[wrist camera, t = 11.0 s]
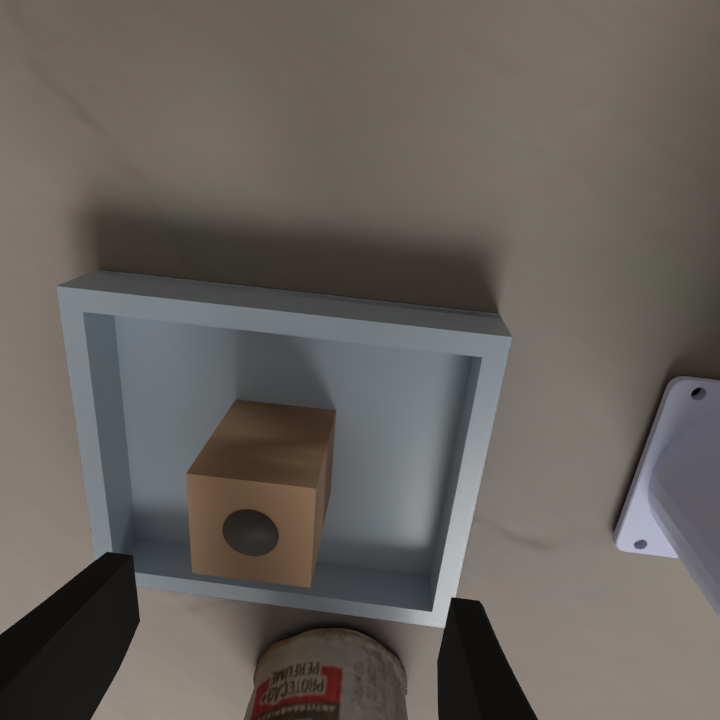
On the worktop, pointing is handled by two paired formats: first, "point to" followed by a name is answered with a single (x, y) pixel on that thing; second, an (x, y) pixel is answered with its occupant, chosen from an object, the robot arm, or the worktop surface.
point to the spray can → (328, 679)
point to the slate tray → (297, 388)
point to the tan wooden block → (262, 493)
